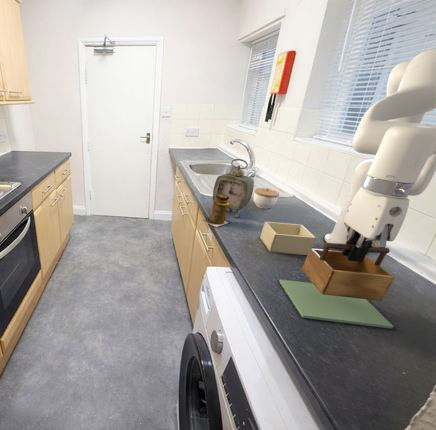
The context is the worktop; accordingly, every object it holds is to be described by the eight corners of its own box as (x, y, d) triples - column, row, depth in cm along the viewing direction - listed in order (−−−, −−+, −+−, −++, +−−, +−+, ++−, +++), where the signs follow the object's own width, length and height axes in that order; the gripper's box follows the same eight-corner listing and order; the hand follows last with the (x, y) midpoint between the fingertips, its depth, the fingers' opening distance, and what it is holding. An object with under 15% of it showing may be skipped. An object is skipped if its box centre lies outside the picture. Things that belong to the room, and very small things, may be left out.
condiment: (228, 222, 113) (235, 196, 108) (216, 227, 109) (222, 200, 104) (214, 216, 118) (219, 191, 113) (202, 220, 114) (206, 194, 109)
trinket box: (275, 205, 132) (281, 187, 128) (274, 212, 124) (279, 193, 120) (252, 200, 138) (256, 183, 134) (249, 207, 129) (254, 189, 125)
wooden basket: (353, 275, 72) (373, 237, 67) (381, 301, 63) (406, 260, 58) (300, 269, 73) (315, 232, 68) (320, 294, 64) (339, 253, 59)
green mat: (353, 289, 76) (354, 287, 75) (392, 328, 63) (393, 326, 63) (279, 281, 78) (279, 279, 78) (302, 317, 66) (303, 315, 65)
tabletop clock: (209, 210, 125) (219, 157, 114) (218, 205, 131) (229, 154, 120) (239, 220, 116) (254, 163, 105) (248, 214, 121) (262, 160, 111)
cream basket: (295, 240, 100) (301, 224, 97) (309, 255, 91) (316, 238, 88) (259, 237, 102) (264, 221, 99) (269, 251, 93) (275, 234, 90)
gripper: (441, 201, 49) (394, 280, 57) (378, 177, 63) (347, 243, 71) (396, 197, 50) (356, 276, 58) (344, 175, 64) (317, 240, 72)
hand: (351, 257), depth 64 cm, fingers closed on wooden basket, 1 cm apart
